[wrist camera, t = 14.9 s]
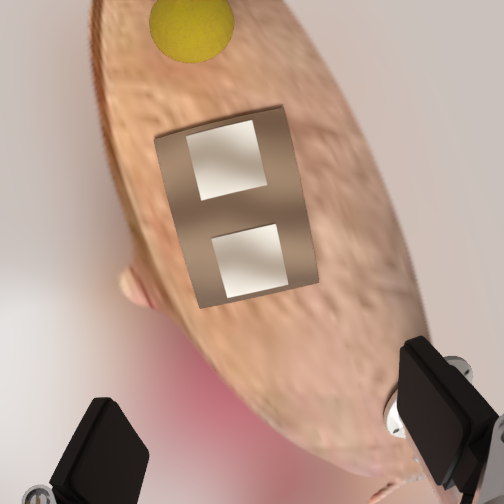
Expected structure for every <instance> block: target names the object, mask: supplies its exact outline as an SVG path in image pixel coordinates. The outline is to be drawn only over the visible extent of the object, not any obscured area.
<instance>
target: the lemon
mask: <svg viewBox="0 0 504 504" xmlns="http://www.w3.org/2000/svg"><path fill="white" fill-rule="evenodd" d="M149 25H150V32H151V36H152V38H153V40H154V42H155V44H156V46H157V47H158V48H159V49H160V50H161V51H162V52H163V53H164V54H165V55H166V56H168V57H170V58H172V59H174V60H175V61H179V62H183V63H198V62H204V61H206V60H209V59H211V58H213V57H215V56H216V55H218V54H219V53H220V52H221V51H222V50H223V49H224V48H225V47H226V46H227V44H228V43H229V41H230V39H231V37H232V33H233V29H234V16H233V12H232V10H231V7H230V5H229V3H228V1H227V0H157V1H156V3H155V4H154V6H153V8H152V10H151V14H150V20H149Z"/></svg>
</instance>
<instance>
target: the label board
mask: <svg viewBox="0 0 504 504" xmlns="http://www.w3.org/2000/svg"><path fill="white" fill-rule="evenodd" d="M154 144H155V148H156V153H157V157H158V161H159V165H160V170H161V174H162V178H163V182H164V186H165V190H166V194H167V198H168V201H169V205H170V209H171V213H172V217H173V220H174V224H175V228H176V231H177V235H178V238H179V242H180V245H181V249H182V252H183V256H184V259H185V263H186V266H187V269H188V273H189V276H190V279H191V282H192V286H193V289H194V292H195V295H196V298H197V302H198V305H199V308H200V309H202V308H207V307H212V306H217V305H222V304H227V303H231V302H236V301H241V300H245V299H250V298H255V297H259V296H264V295H268V294H273V293H277V292H282V291H286V290H290V289H295V288H299V287H303V286H307V285H311V284H316V283H319V278H318V272H317V266H316V260H315V254H314V248H313V243H312V237H311V232H310V226H309V221H308V216H307V211H306V206H305V201H304V196H303V191H302V186H301V181H300V176H299V172H298V167H297V163H296V158H295V154H294V149H293V145H292V141H291V136H290V132H289V128H288V124H287V120H286V116H285V111H284V108H279V109H273V110H268V111H263V112H258V113H253V114H248V115H244V116H239V117H235V118H230V119H226V120H222V121H218V122H214V123H210V124H206V125H202V126H199V127H195V128H191V129H188V130H184V131H181V132H177V133H174V134H171V135H167V136H164V137H161V138H158V139H154Z"/></svg>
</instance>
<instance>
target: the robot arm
mask: <svg viewBox="0 0 504 504" xmlns="http://www.w3.org/2000/svg"><path fill="white" fill-rule="evenodd" d="M472 378H473V375H472V369H471V367H470V365H469V364H468V363H467V362H466V361H465V360H464V359H462V358H460V357H457V356H447V357H442V355H441V354H440V353H439V352H438V351H437V350H436V349H435V348H434V347H433V346H432V345H431V344H430V343H429V341H428V340H427V339H426V338H425V337H424V336H418V337H415V338H413V339H410V340H407V341H405V343H404V346H403V347H401V348H400V361H399V380H398V389H397V390H396V391H395V393H394V394H393V395H392V397H391V398H390V400H389V402H388V404H387V406H386V409H385V412H384V424H385V426H386V428H387V430H388V431H389V433H390V434H392V435H393V436H395V437H399V438H407V440H408V442H409V444H410V446H411V447H412V449H413V451H414V453H413V460H414V461H415V462H419V463H420V465H421V467H422V469H423V471H424V473H425V475H426V477H427V479H428V481H429V483H430V485H431V487H432V489H433V491H434V493H435V495H436V497H437V499H438V501H439V503H440V504H504V414H503V415H502V416H500V417H499V415H498V414H497V413H496V412H495V411H494V410H493V409H492V407H491V406H490V405H489V404H488V403H487V401H486V400H485V399H484V398H483V397H482V396H481V395H480V393H479V392H478V391H477V390H476V389H475V388H474V386H473V385H472ZM148 460H149V451H148V449H147V448H146V446H145V445H144V443H143V442H142V440H141V439H140V438H139V436H138V435H137V433H136V432H135V430H134V429H133V427H132V426H131V424H130V423H129V421H128V419H127V418H126V417H125V415H124V413H123V412H122V410H121V409H120V407H119V405H118V404H117V403H116V402H115V401H113V400H112V399H111V398H108V397H101V398H94V399H93V400H92V402H91V404H90V405H89V407H88V409H87V411H86V413H85V414H84V416H83V418H82V420H81V422H80V423H79V426H78V427H77V429H76V431H75V433H74V435H73V436H72V438H71V440H70V442H69V444H68V446H67V448H66V450H65V452H64V453H63V456H62V458H61V459H60V461H59V463H58V465H57V467H56V469H55V471H54V473H53V475H52V477H51V479H50V482H49V483H50V484H51V485H52V486H53V488H52V490H51V489H50V488H49V487H47V486H45V485H36V486H33V487H31V488H29V489H28V490H27V491H26V492H25V494H24V496H23V498H22V504H137V502H138V498H139V494H140V490H141V487H142V483H143V479H144V475H145V472H146V468H147V464H148Z"/></svg>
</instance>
